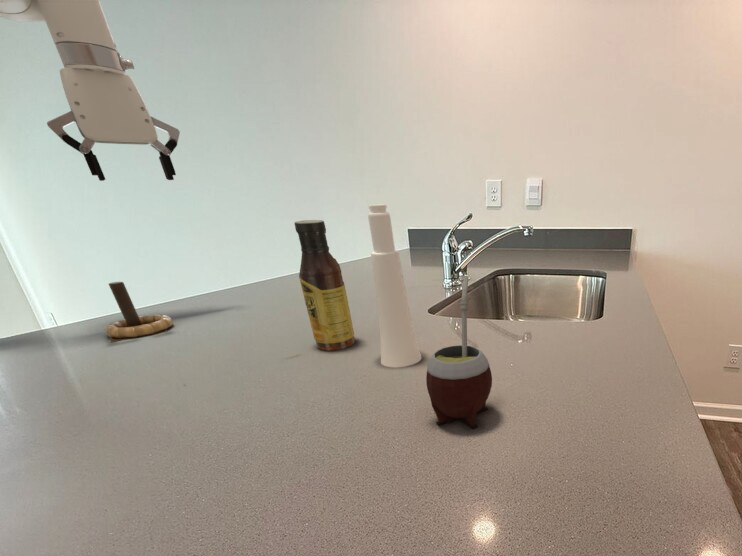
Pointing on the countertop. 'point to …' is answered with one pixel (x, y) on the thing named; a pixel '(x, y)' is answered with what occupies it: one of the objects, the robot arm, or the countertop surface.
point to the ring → (148, 326)
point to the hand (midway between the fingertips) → (137, 180)
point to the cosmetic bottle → (391, 294)
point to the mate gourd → (459, 378)
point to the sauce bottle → (323, 289)
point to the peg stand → (126, 308)
